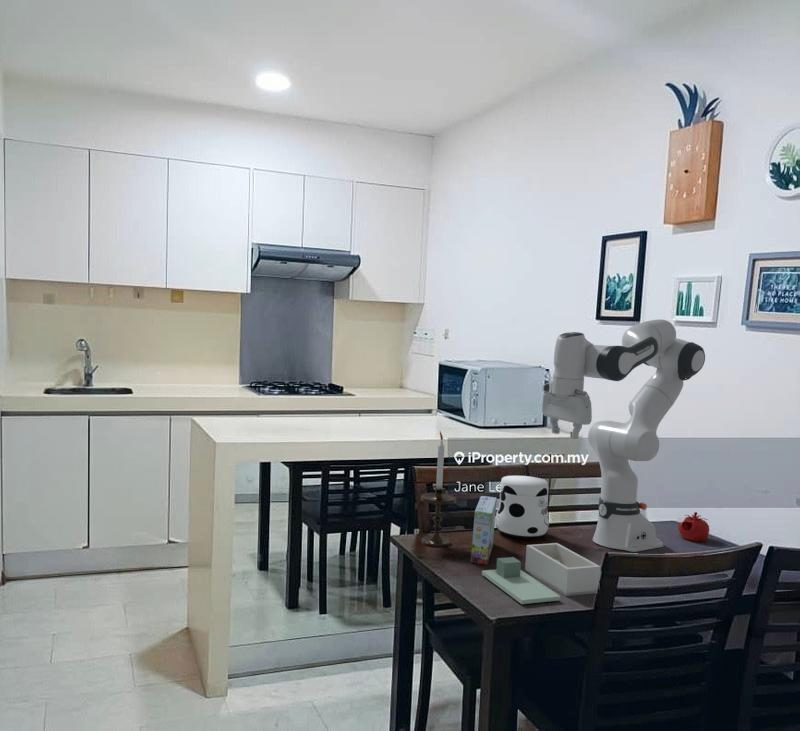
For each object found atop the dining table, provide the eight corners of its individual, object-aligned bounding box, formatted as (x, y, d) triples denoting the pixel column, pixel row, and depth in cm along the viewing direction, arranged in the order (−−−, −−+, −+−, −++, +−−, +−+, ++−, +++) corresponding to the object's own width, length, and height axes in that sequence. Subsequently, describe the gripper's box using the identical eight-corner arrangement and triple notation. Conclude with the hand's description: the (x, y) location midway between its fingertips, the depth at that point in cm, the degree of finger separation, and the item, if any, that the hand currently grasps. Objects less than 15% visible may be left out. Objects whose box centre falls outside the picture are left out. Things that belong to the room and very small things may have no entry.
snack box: (489, 565, 198) (492, 513, 197) (469, 563, 199) (472, 511, 198) (494, 543, 218) (497, 496, 218) (476, 541, 220) (479, 494, 219)
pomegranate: (703, 536, 240) (705, 509, 240) (713, 544, 230) (715, 516, 230) (673, 533, 241) (676, 506, 241) (682, 541, 231) (684, 513, 231)
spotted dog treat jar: (559, 539, 227) (562, 484, 226) (516, 544, 219) (519, 487, 218) (525, 524, 242) (528, 473, 241) (484, 529, 234) (487, 476, 233)
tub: (555, 567, 199) (557, 543, 199) (598, 593, 180) (600, 566, 180) (525, 569, 195) (526, 545, 195) (565, 596, 177) (567, 569, 176)
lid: (517, 573, 193) (518, 553, 192) (560, 602, 173) (561, 580, 173) (481, 576, 189) (482, 556, 188) (521, 606, 169) (522, 583, 169)
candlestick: (411, 542, 215) (417, 430, 213) (430, 535, 224) (436, 427, 222) (442, 550, 209) (448, 434, 207) (460, 542, 218) (466, 431, 216)
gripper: (599, 392, 193) (595, 441, 193) (557, 385, 212) (554, 430, 212) (579, 391, 190) (576, 442, 191) (539, 385, 209) (536, 430, 210)
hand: (564, 436), depth 202 cm, fingers open, 8 cm apart
